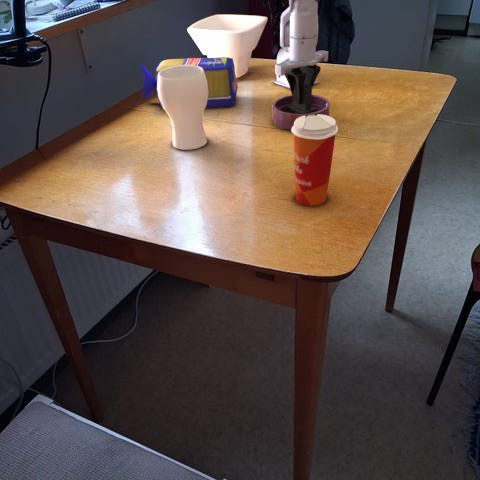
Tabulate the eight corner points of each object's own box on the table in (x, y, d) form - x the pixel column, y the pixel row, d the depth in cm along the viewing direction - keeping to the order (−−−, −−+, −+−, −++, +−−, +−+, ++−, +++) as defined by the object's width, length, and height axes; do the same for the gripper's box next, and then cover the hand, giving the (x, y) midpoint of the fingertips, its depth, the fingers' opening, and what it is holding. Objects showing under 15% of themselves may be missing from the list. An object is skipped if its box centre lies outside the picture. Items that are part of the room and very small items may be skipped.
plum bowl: (260, 121, 116) (260, 104, 114) (301, 106, 122) (301, 90, 119) (299, 137, 108) (299, 119, 106) (340, 120, 114) (341, 103, 111)
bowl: (217, 64, 153) (213, 13, 143) (273, 69, 146) (273, 16, 136) (187, 83, 141) (181, 28, 131) (247, 89, 134) (245, 32, 124)
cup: (219, 135, 112) (213, 65, 101) (202, 155, 105) (194, 81, 94) (178, 131, 115) (168, 63, 104) (158, 150, 107) (146, 78, 97)
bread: (235, 109, 123) (233, 65, 116) (142, 111, 126) (133, 68, 119) (239, 95, 131) (237, 53, 124) (150, 97, 133) (143, 56, 126)
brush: (286, 115, 117) (287, 84, 112) (298, 111, 118) (299, 80, 113) (304, 122, 113) (305, 90, 108) (316, 117, 115) (317, 85, 110)
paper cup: (287, 190, 91) (288, 115, 82) (327, 186, 91) (332, 111, 82) (293, 211, 86) (295, 133, 76) (336, 207, 86) (343, 128, 76)
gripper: (291, 46, 99) (289, 113, 108) (339, 31, 105) (334, 96, 114) (268, 40, 103) (269, 105, 112) (316, 27, 109) (313, 90, 118)
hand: (301, 100), depth 113 cm, fingers closed on brush, 2 cm apart
